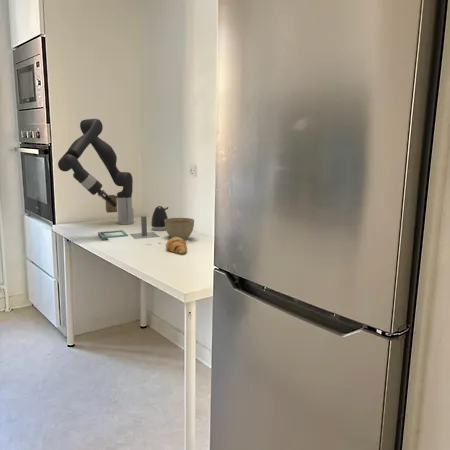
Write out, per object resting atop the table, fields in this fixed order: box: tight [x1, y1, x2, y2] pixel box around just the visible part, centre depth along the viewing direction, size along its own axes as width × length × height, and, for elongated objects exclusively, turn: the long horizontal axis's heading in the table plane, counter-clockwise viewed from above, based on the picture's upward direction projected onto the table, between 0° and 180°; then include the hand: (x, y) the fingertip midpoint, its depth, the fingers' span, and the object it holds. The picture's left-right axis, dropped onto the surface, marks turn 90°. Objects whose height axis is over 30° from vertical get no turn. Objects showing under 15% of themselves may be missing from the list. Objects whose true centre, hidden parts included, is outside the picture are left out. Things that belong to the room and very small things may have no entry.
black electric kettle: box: [150, 205, 169, 232], centre depth 265 cm, size 10×10×15 cm
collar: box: [105, 194, 118, 213], centre depth 247 cm, size 5×6×9 cm
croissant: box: [165, 237, 188, 255], centre depth 220 cm, size 21×10×8 cm, turn 26°
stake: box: [128, 215, 161, 240], centre depth 248 cm, size 14×14×12 cm
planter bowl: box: [164, 217, 195, 242], centre depth 243 cm, size 16×16×11 cm
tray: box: [97, 229, 129, 241], centre depth 250 cm, size 14×14×2 cm
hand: (114, 205), depth 248 cm, fingers closed on collar, 5 cm apart
